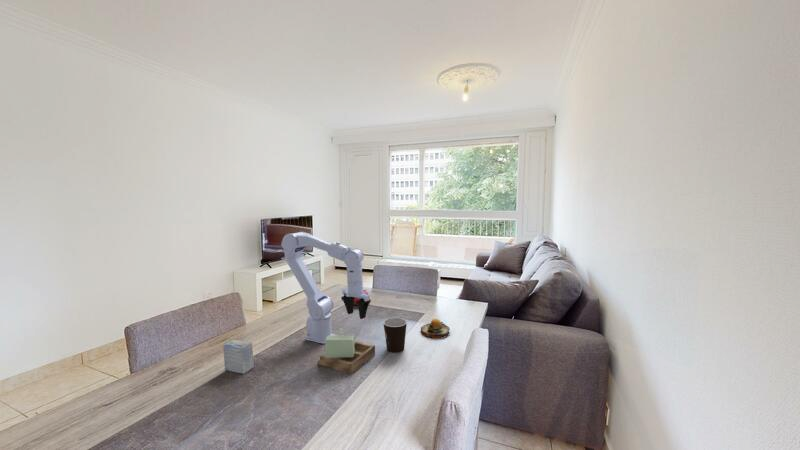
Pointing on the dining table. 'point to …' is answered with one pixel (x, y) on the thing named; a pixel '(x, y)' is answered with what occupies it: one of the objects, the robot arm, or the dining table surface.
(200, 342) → the dining table surface
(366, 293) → the pomegranate
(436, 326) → the burger
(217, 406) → the dining table surface
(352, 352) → the pale green block
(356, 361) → the wooden compartment tray
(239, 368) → the medicine box
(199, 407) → the dining table surface
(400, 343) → the coffee mug
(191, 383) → the dining table surface
